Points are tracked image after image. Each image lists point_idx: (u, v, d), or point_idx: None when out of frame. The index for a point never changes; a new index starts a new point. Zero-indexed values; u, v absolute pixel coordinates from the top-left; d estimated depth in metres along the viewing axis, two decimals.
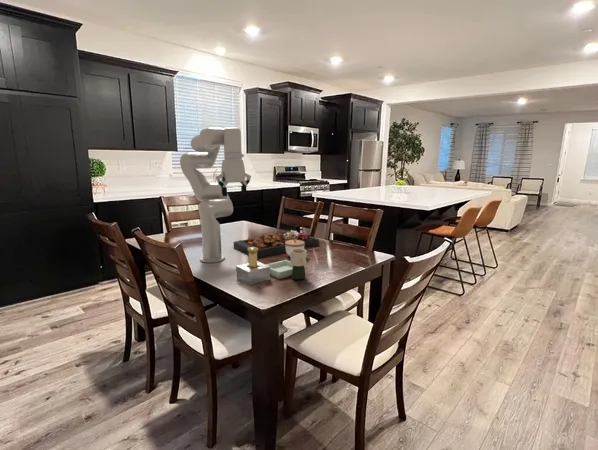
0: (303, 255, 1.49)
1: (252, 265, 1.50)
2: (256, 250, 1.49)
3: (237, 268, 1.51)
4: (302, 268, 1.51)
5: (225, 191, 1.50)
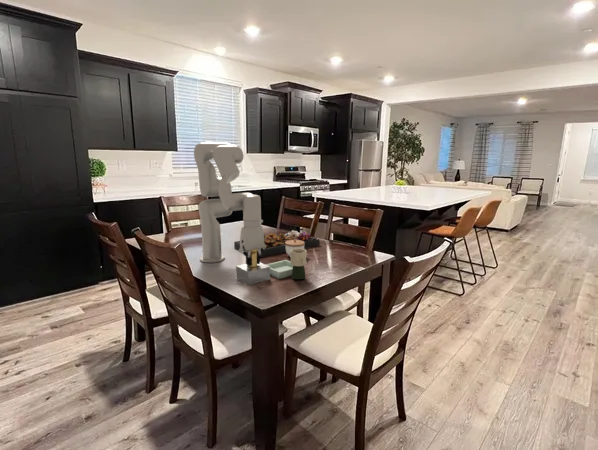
0: (303, 255, 1.49)
1: (252, 265, 1.50)
2: (256, 250, 1.49)
3: (237, 268, 1.51)
4: (302, 268, 1.51)
5: (249, 261, 1.49)
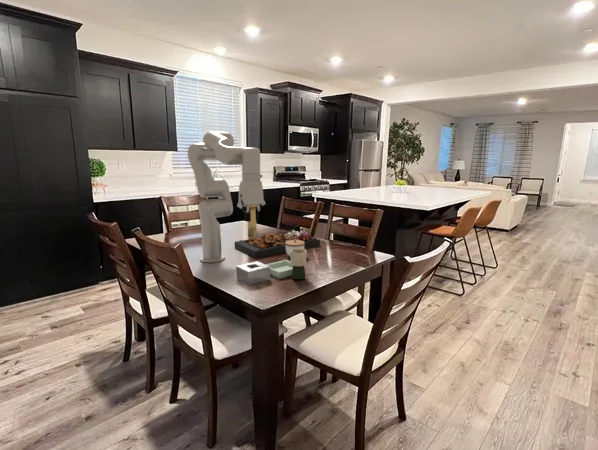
0: (303, 255, 1.49)
1: (251, 221, 1.46)
2: (255, 205, 1.45)
3: (237, 268, 1.51)
4: (302, 268, 1.51)
5: (248, 216, 1.45)
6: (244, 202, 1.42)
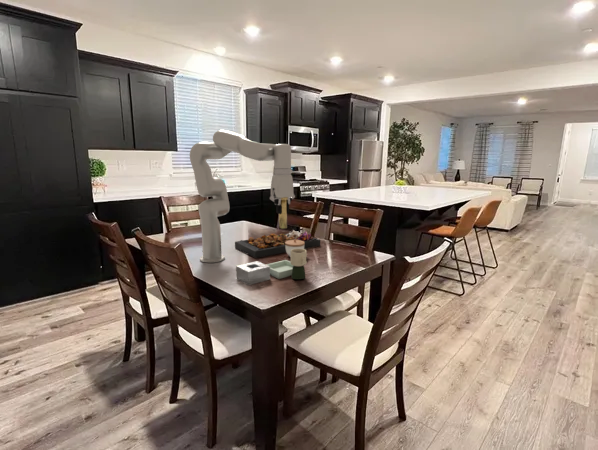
0: (303, 255, 1.49)
1: (283, 213, 1.55)
2: (286, 198, 1.54)
3: (237, 268, 1.51)
4: (302, 268, 1.51)
5: (280, 209, 1.54)
6: (276, 195, 1.51)
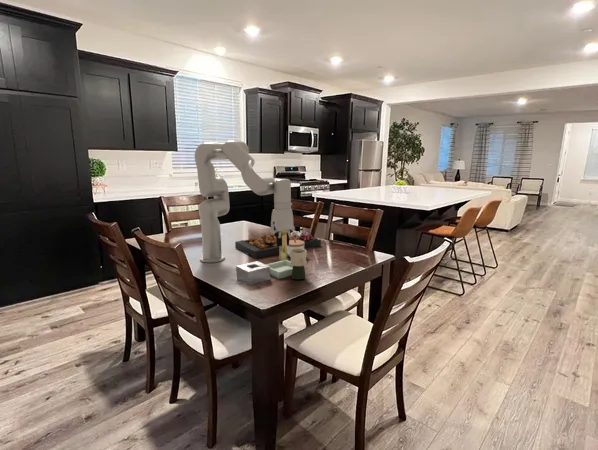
0: (303, 255, 1.49)
1: (283, 245, 1.58)
2: (286, 231, 1.57)
3: (237, 268, 1.51)
4: (302, 268, 1.51)
5: (280, 242, 1.57)
6: (277, 229, 1.54)
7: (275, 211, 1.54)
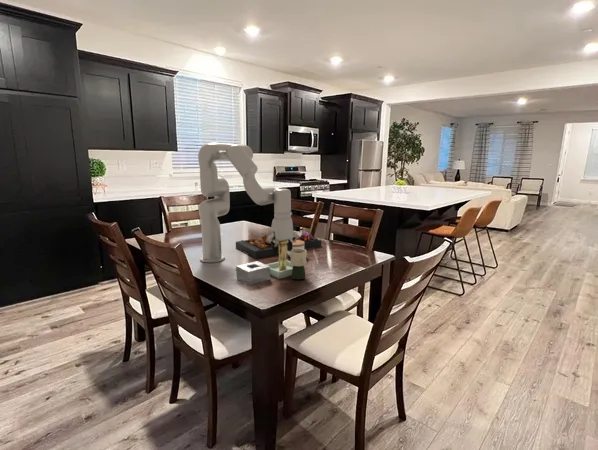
0: (303, 255, 1.49)
1: (282, 256, 1.59)
2: (286, 242, 1.58)
3: (237, 268, 1.51)
4: (302, 268, 1.51)
5: (276, 250, 1.56)
6: (276, 239, 1.55)
7: (275, 221, 1.54)
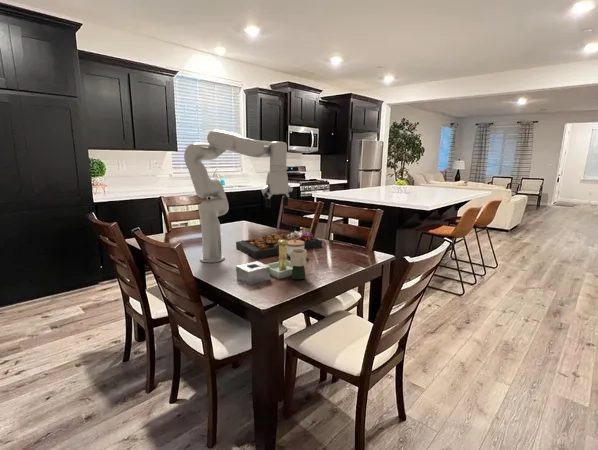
0: (303, 255, 1.49)
1: (283, 256, 1.59)
2: (286, 242, 1.58)
3: (237, 268, 1.51)
4: (302, 268, 1.51)
5: (269, 202, 1.56)
6: (271, 191, 1.55)
7: (270, 173, 1.55)
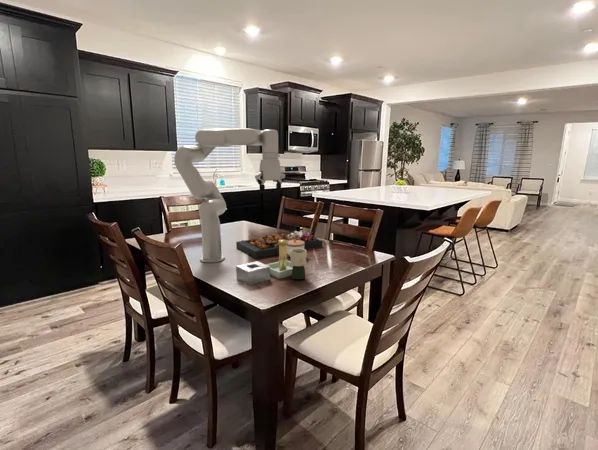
0: (303, 255, 1.49)
1: (283, 256, 1.59)
2: (286, 242, 1.58)
3: (237, 268, 1.51)
4: (302, 268, 1.51)
5: (263, 188, 1.63)
6: (264, 177, 1.62)
7: (263, 160, 1.61)
